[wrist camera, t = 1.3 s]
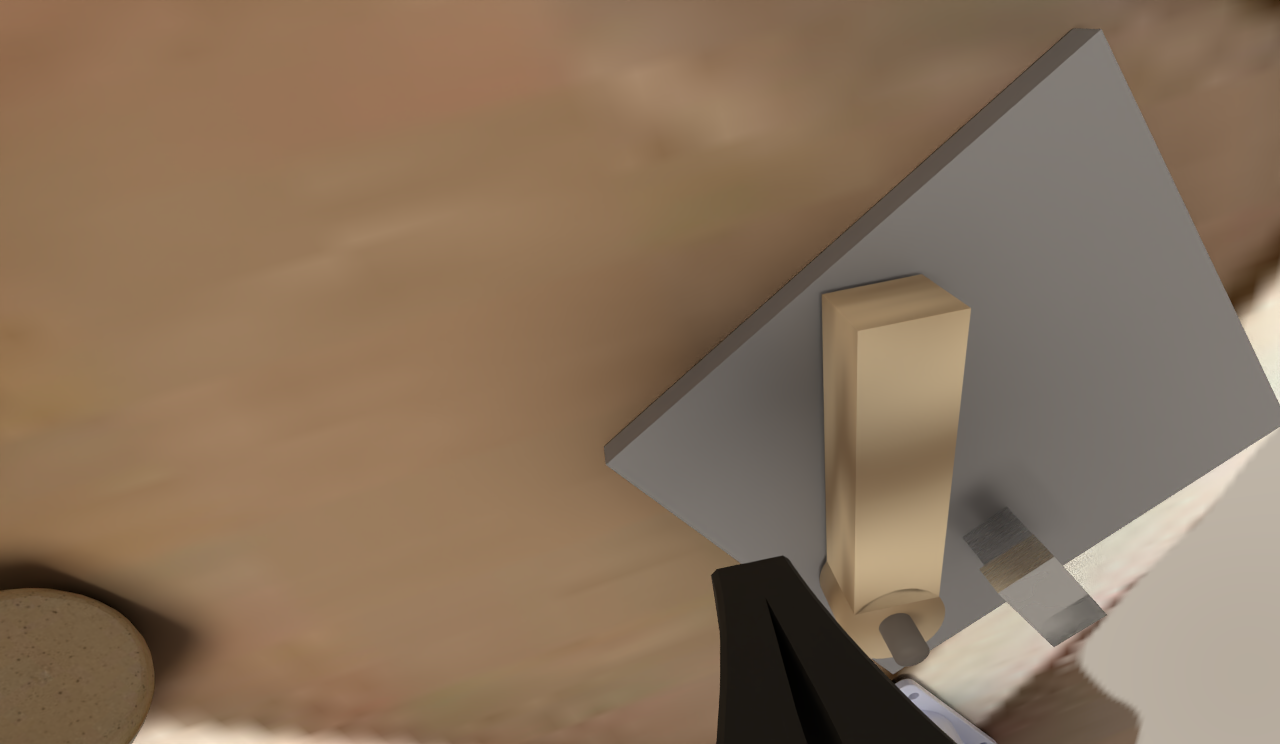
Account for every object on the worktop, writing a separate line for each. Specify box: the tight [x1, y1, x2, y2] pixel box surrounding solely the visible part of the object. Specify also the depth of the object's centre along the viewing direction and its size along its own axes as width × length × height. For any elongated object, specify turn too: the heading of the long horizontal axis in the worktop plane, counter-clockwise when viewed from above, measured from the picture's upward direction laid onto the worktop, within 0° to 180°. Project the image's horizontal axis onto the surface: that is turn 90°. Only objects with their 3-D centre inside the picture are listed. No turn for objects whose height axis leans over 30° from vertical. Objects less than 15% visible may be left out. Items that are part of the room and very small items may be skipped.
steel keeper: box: [962, 507, 1107, 647], centre depth 22 cm, size 4×2×4 cm, turn 44°
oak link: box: [820, 274, 971, 666], centre depth 20 cm, size 14×4×4 cm, turn 9°
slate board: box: [604, 29, 1280, 674], centre depth 23 cm, size 18×18×1 cm
